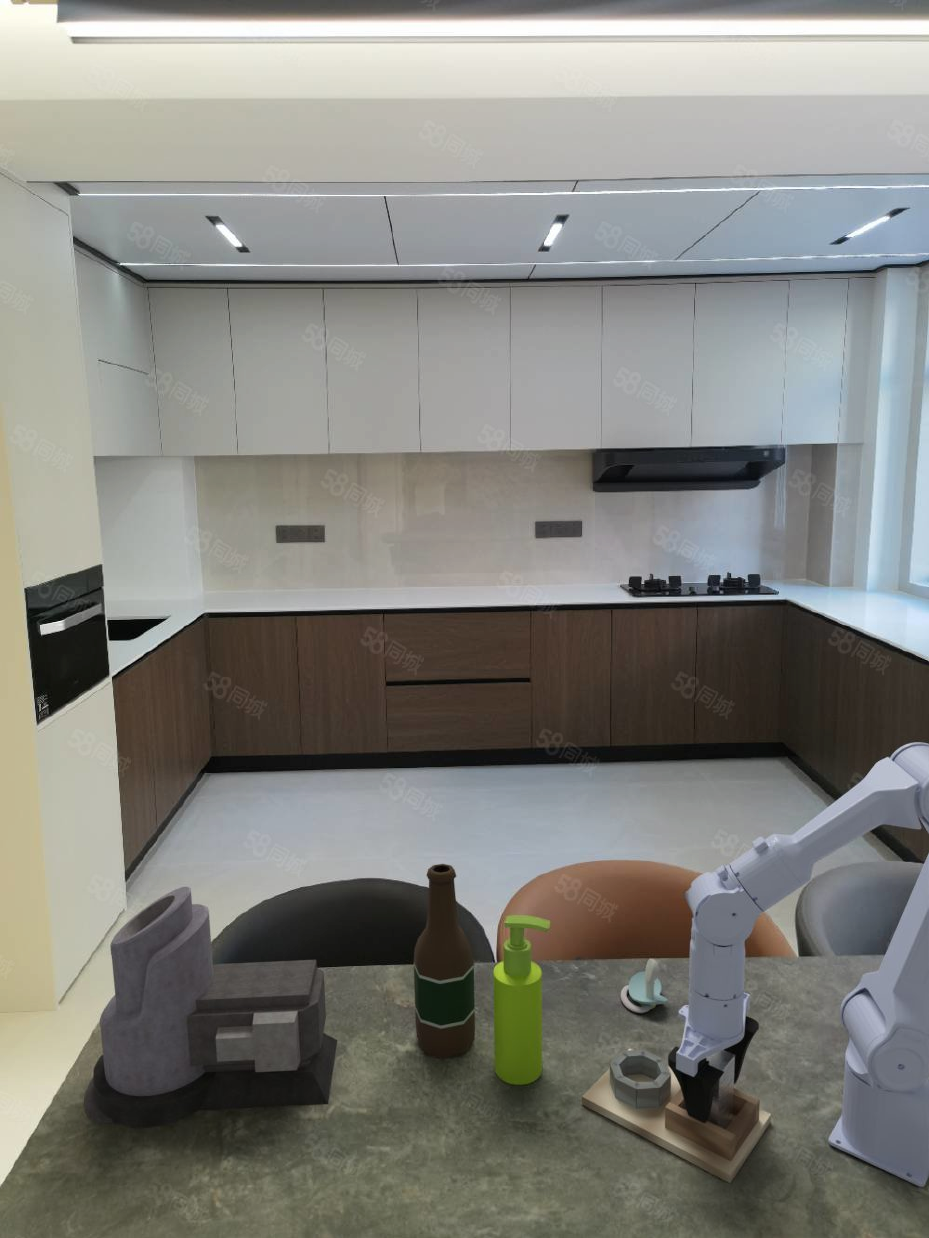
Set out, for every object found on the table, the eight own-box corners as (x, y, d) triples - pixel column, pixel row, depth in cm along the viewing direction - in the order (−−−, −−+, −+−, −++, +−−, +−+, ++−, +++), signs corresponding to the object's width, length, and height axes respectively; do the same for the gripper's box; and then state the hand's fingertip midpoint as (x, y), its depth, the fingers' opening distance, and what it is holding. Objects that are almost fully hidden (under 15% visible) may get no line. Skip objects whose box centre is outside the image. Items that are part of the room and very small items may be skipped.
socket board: (770, 1121, 96) (771, 1094, 96) (730, 1183, 88) (731, 1153, 87) (629, 1055, 108) (629, 1030, 107) (582, 1104, 100) (582, 1077, 99)
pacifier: (626, 1019, 116) (670, 1016, 116) (625, 976, 115) (669, 974, 115) (616, 987, 123) (657, 985, 123) (615, 947, 122) (657, 945, 122)
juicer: (61, 1132, 97) (40, 933, 93) (111, 1041, 113) (95, 867, 109) (326, 1118, 98) (316, 921, 94) (339, 1030, 114) (331, 858, 110)
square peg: (732, 1119, 95) (734, 1054, 94) (717, 1140, 92) (719, 1074, 91) (699, 1103, 98) (700, 1040, 97) (683, 1123, 95) (684, 1058, 94)
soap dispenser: (547, 1088, 102) (547, 934, 99) (491, 1081, 104) (488, 928, 100) (552, 1056, 108) (552, 909, 105) (498, 1050, 109) (496, 904, 106)
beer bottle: (477, 1023, 115) (474, 855, 111) (472, 1062, 107) (469, 883, 103) (420, 1021, 116) (415, 854, 112) (411, 1059, 108) (405, 881, 104)
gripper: (710, 944, 100) (707, 1048, 102) (650, 1002, 89) (648, 1118, 91) (769, 965, 96) (765, 1074, 98) (714, 1029, 85) (710, 1150, 87)
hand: (712, 1097), depth 94 cm, fingers open, 7 cm apart
